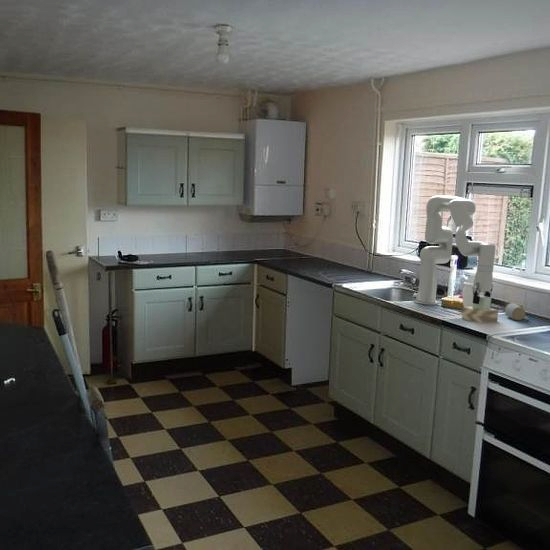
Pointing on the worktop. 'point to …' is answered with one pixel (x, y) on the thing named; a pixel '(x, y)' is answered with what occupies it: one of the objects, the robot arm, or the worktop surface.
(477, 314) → the birch block
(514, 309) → the ceramic mug
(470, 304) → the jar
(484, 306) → the sage tub
